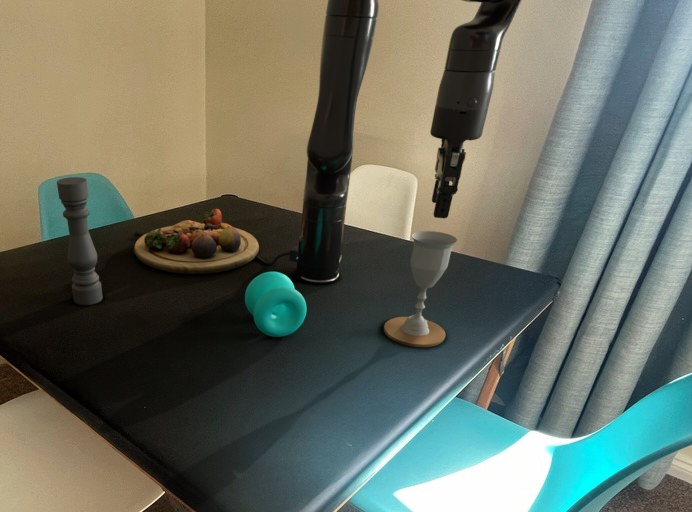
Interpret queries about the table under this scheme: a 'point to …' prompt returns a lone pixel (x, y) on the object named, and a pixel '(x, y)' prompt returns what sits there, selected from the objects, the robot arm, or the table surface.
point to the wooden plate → (197, 246)
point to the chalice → (427, 272)
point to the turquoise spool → (275, 304)
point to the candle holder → (80, 241)
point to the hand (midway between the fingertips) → (439, 209)
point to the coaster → (396, 334)
